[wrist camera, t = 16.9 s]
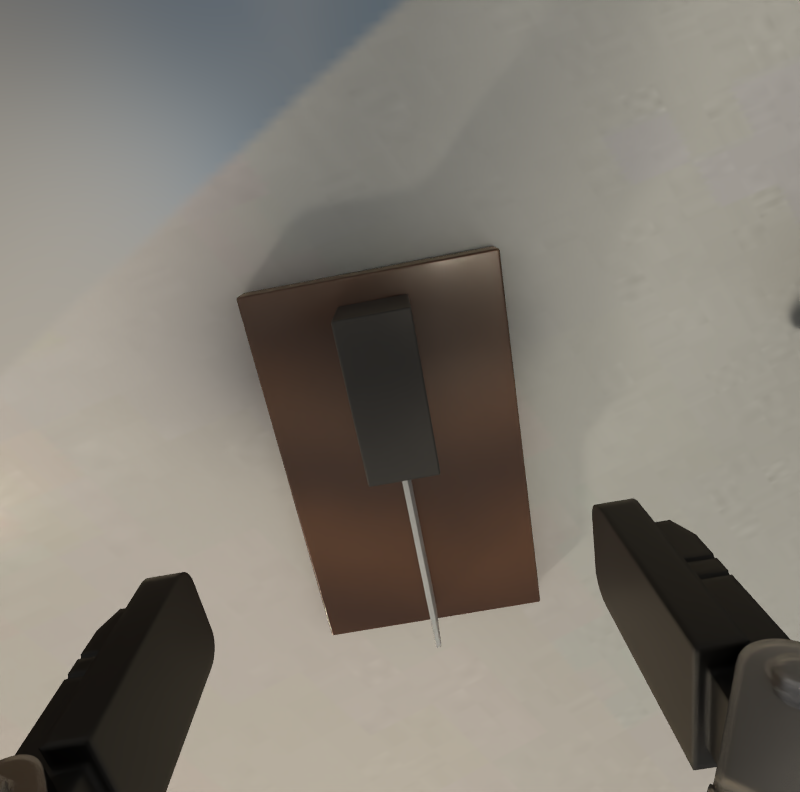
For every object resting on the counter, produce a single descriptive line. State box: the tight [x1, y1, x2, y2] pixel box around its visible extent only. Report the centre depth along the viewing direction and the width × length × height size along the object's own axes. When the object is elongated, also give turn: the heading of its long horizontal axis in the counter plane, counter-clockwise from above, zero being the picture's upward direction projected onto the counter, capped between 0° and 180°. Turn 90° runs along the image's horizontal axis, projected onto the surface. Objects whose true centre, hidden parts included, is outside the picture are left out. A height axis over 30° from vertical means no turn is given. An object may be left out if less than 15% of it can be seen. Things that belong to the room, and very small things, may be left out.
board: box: [237, 246, 540, 635], centre depth 26 cm, size 18×11×1 cm, turn 10°
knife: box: [331, 294, 441, 648], centre depth 24 cm, size 16×3×3 cm, turn 10°
